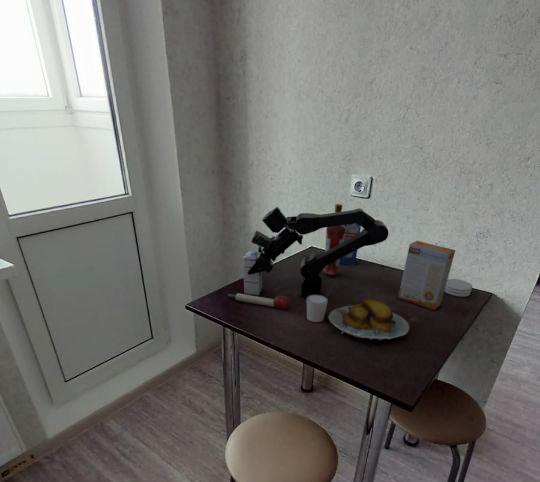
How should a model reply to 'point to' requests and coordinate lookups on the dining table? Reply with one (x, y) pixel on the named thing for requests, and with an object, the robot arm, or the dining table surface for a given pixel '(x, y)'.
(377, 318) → the food on plate
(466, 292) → the coaster
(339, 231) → the liquor
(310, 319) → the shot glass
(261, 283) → the syrup box
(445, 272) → the cracker box
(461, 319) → the dining table surface
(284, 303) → the baster
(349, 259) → the milk carton
